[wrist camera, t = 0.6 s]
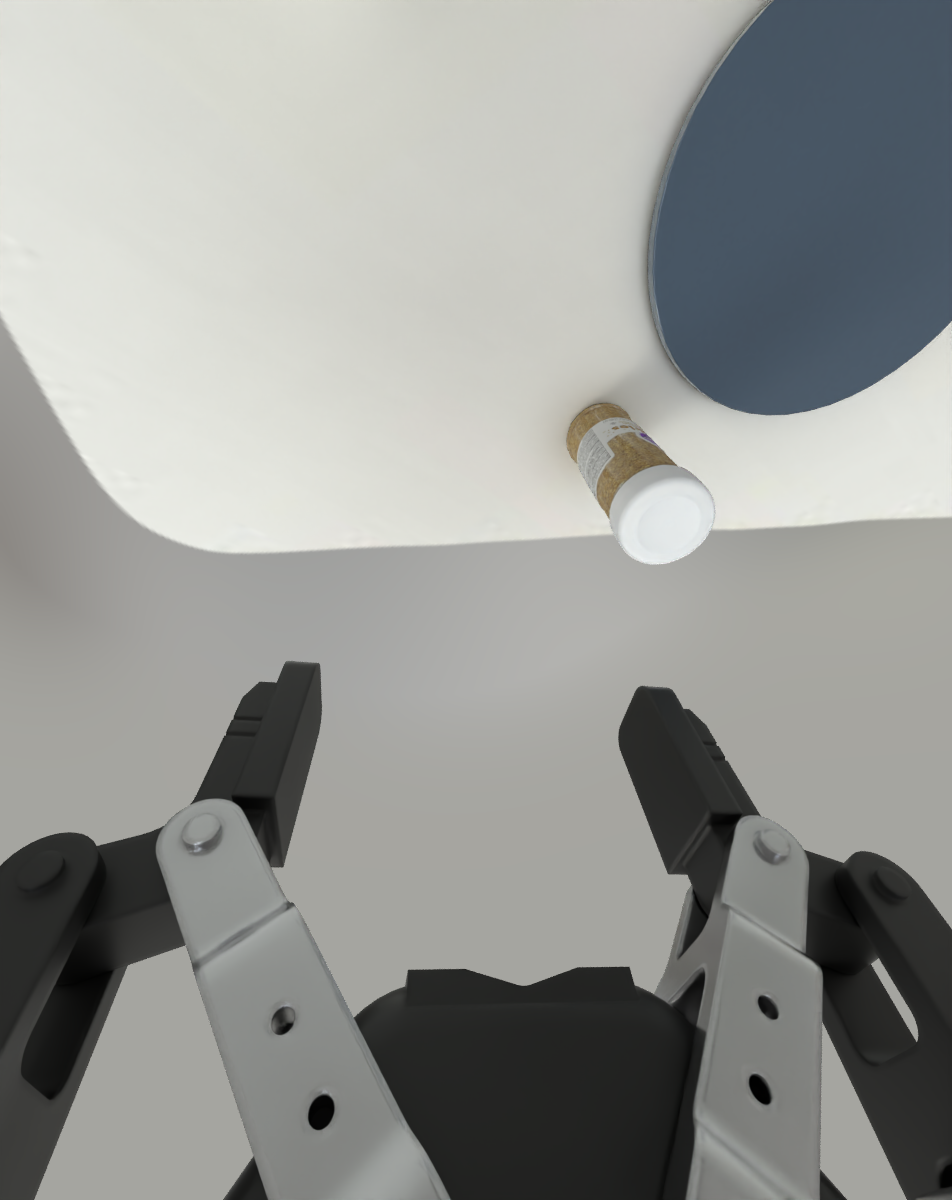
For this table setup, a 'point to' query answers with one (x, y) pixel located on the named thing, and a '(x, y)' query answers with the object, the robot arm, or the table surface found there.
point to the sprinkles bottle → (639, 486)
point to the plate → (810, 206)
